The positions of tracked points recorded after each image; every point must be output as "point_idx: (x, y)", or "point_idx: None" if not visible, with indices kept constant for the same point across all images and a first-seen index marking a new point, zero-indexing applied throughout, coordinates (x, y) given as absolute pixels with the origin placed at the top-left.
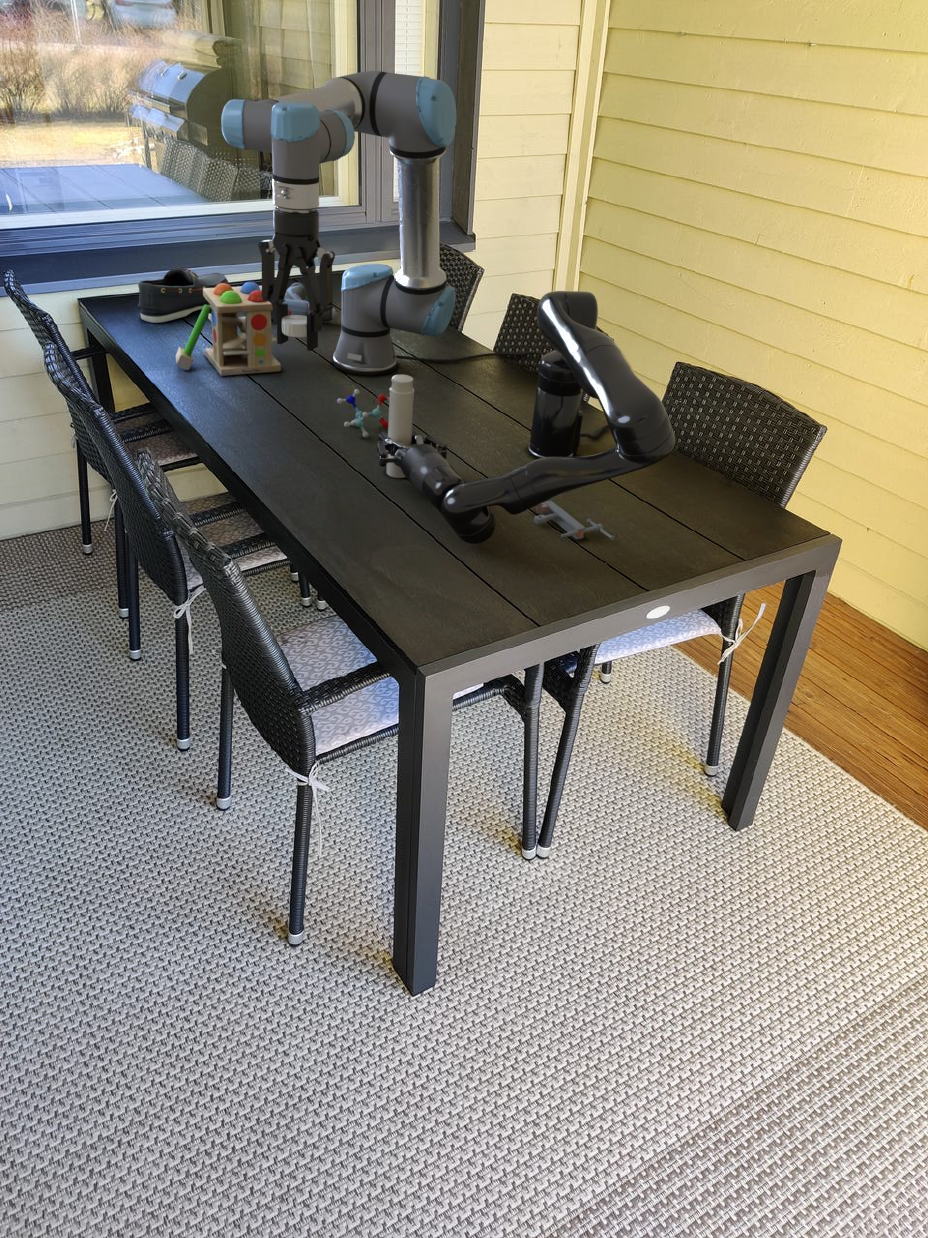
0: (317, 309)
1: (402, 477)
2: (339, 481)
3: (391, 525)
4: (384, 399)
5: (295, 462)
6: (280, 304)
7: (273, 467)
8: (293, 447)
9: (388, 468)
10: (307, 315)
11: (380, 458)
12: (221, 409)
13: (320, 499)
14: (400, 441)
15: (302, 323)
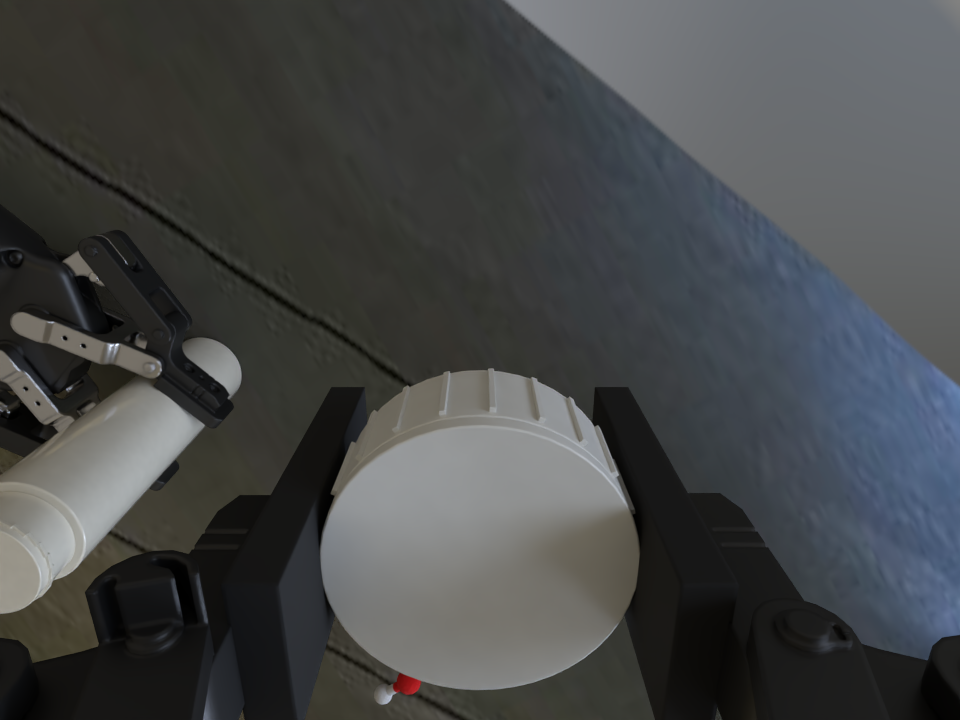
0: (99, 666)
1: None
2: (322, 229)
3: (9, 23)
4: (397, 678)
5: (509, 279)
6: (725, 672)
7: (553, 211)
8: (564, 369)
9: (211, 349)
10: (274, 566)
11: (105, 236)
12: (881, 490)
13: (304, 75)
14: (119, 388)
15: (363, 495)
